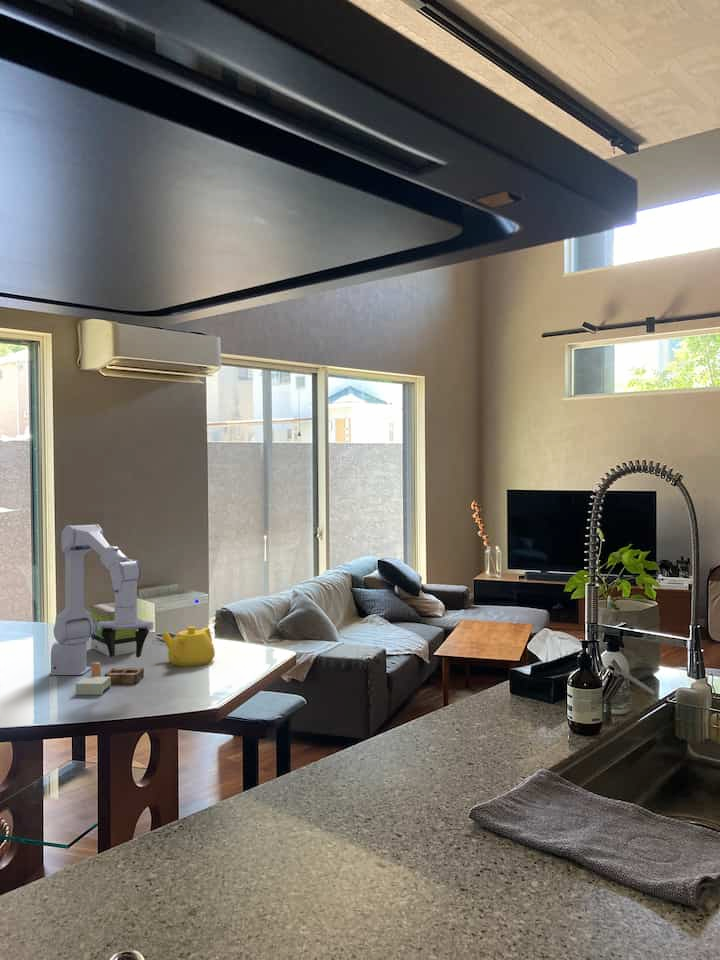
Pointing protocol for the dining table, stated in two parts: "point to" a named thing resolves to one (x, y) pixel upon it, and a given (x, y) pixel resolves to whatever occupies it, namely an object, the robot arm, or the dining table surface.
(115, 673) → the wooden compartment tray
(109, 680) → the cover
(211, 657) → the teapot
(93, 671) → the pin
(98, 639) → the tea box
